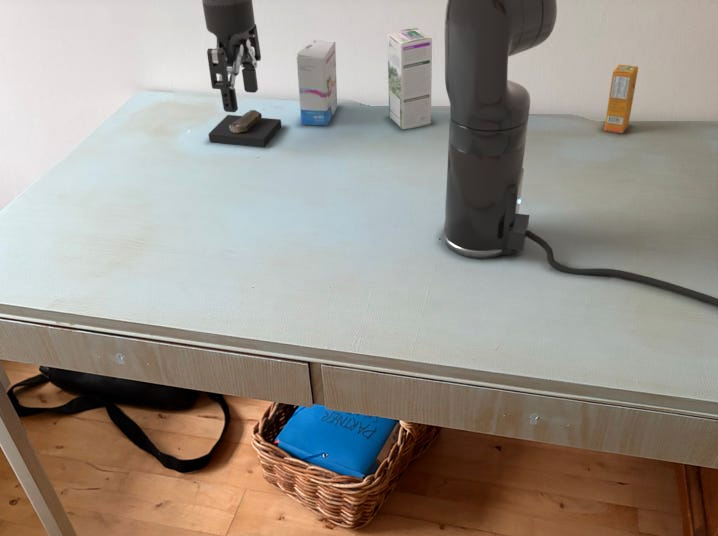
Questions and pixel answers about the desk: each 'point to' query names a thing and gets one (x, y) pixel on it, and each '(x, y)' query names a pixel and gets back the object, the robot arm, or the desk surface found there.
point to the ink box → (317, 82)
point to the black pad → (246, 132)
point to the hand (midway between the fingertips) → (241, 101)
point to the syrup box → (409, 78)
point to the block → (245, 121)
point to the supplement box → (620, 98)
